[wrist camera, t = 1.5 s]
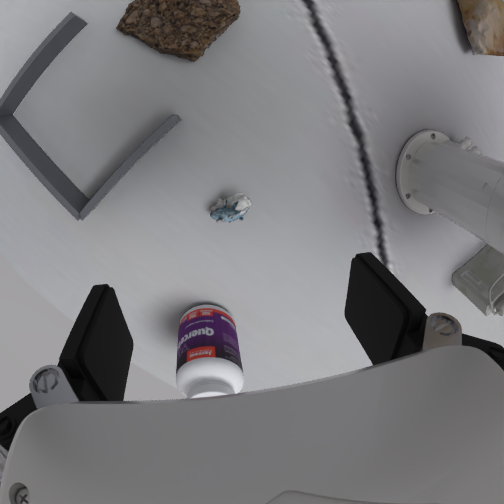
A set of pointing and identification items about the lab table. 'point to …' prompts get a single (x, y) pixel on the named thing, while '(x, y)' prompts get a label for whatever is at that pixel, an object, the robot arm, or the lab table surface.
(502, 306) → the geiger counter
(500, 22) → the mineral
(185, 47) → the concrete sample
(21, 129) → the tray
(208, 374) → the pill bottle
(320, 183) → the lab table surface
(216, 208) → the sculpture
